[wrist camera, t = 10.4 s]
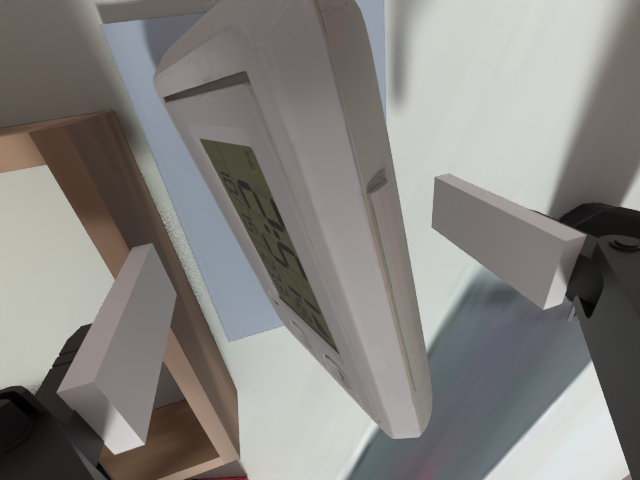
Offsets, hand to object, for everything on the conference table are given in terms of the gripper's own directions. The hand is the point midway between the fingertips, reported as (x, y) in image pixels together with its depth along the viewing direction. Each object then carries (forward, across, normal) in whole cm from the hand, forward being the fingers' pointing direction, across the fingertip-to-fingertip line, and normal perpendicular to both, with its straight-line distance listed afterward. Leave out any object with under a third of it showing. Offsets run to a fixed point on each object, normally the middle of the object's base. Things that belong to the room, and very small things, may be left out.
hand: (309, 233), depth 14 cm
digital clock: (+4, -1, 0) cm, 4 cm away
